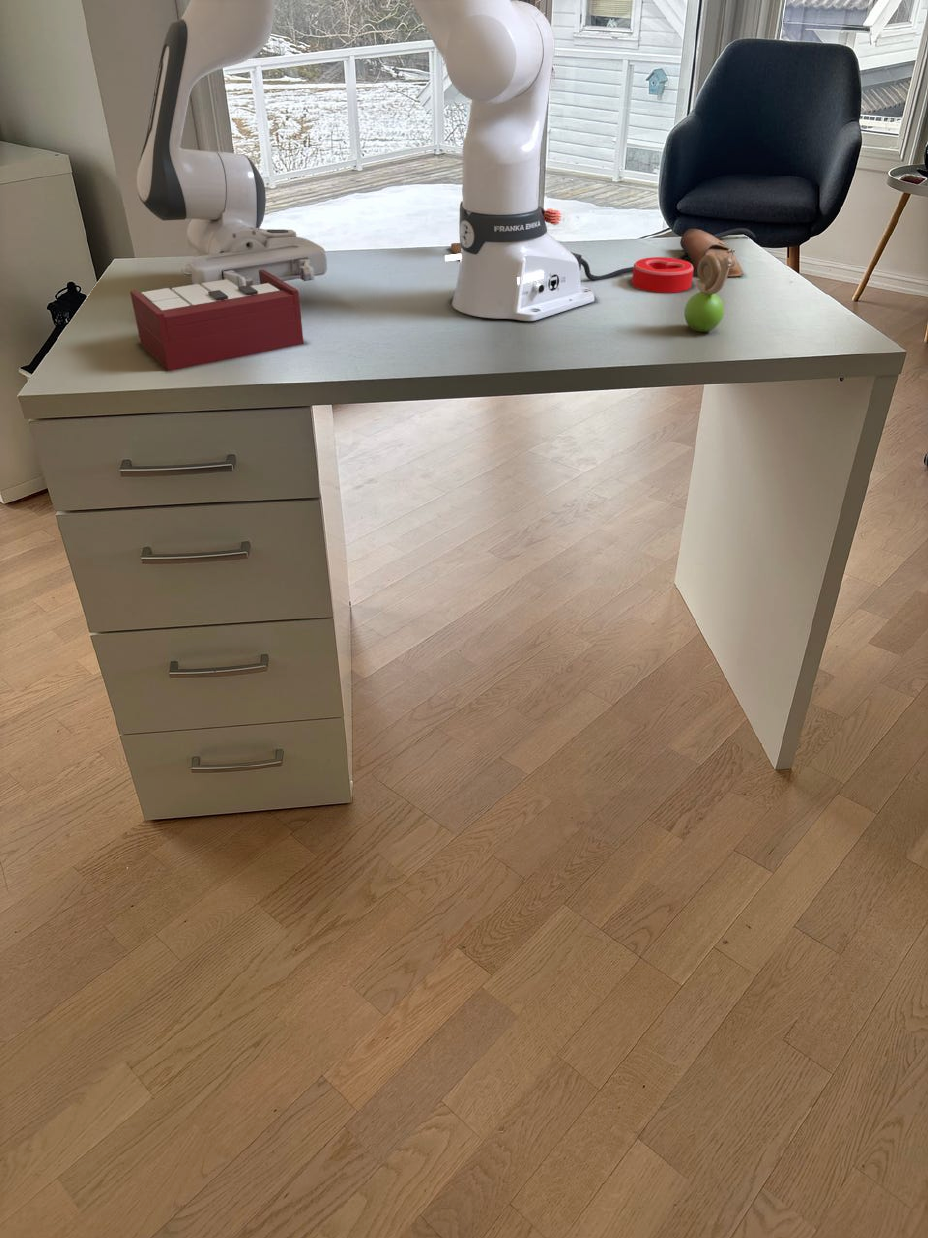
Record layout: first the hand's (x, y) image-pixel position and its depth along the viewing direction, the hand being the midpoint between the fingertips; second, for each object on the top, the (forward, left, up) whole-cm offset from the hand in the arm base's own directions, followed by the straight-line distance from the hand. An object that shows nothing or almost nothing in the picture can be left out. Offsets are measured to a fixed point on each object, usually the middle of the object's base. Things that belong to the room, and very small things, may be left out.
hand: (279, 279), depth 133 cm
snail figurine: (-50, +35, -7) cm, 61 cm away
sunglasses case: (-77, +9, -7) cm, 77 cm away
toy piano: (+11, +3, -6) cm, 13 cm away
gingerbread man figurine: (-44, -19, -7) cm, 48 cm away
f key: (+17, 0, -1) cm, 17 cm away
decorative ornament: (-61, +14, -7) cm, 63 cm away
